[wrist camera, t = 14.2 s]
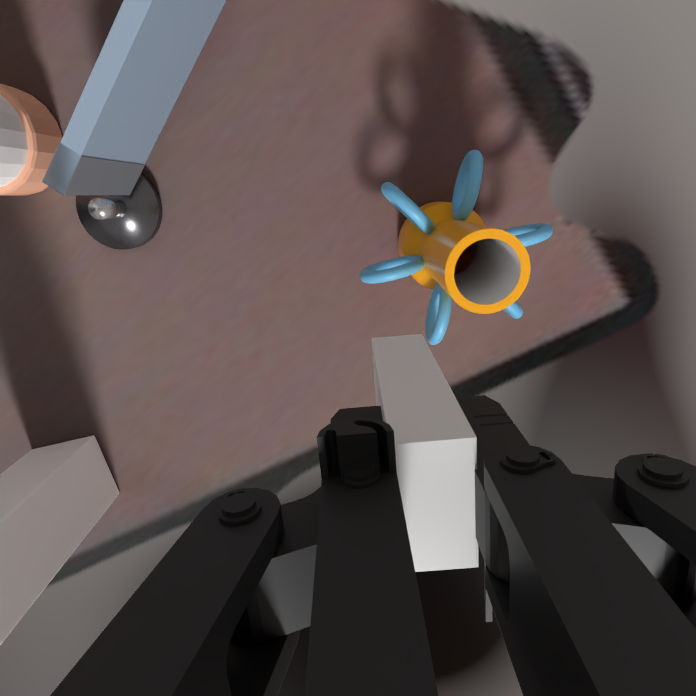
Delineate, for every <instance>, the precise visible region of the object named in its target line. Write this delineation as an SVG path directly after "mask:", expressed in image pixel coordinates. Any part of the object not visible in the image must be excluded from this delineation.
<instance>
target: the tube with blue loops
mask: <svg viewBox="0 0 696 696" xmlns="http://www.w3.org/2000/svg"><path fill="white" fill-rule="evenodd" d="M482 174H483V157H482V154H481V153H480V151H478V150H471V151H469V152H468V153H467V154H466V156H465V157H464V159H463V161H462V164H461V166H460V169H459V172H458V175H457V179H456V183H455V187H454V192H453V199H452V202H432V203H428V204H425V205H423V206H421V207H418V206H417V205H416V204H415V203H414V202H413V201H412V200H411V199H410V198H409V197H408V196H407V195H406V194H404V193H403V192H402V191H401V190H400V189H399V188H397V187H396V186H395V185H394V184H392V183H390V182H385V183H383V184H382V186H381V191H382V193H383V194H384V196H385V197H386V198H387V199H388V200H389V201H390V202H391V203H392V204H393V205H394V206H395V207H396V208H397V209H398V210H399V211H400V212H401V213H402V214H403V215H404V216H405V217H407V219H406V220H405V222H404V223H403V225H402V227H401V230H400V233H399V238H398V250H399V255H400V257H398V258H394V259H390V260H386V261H382V262H379V263H376V264H374V265H371V266H369V267H367V268H365V269H363V270H362V271H361V273H360V279H361V280H362V281H363V282H365V283H382V282H387V281H392V280H396V279H400V278H403V277H406V276H409V275H411V276H412V277H413V278H414V279H415V280H416V281H417V282H418V283H420V284H421V285H423V286H425V287H427V288H429V289H432V290H433V292H432V295H431V298H430V302H429V306H428V311H427V317H426V338H427V341H428V342H429V343H430V344H432V345H436V344H438V343H439V342H440V341H441V340H442V339H443V337H444V335H445V332H446V329H447V326H448V322H449V318H450V313H451V305H452V299H453V300H454V301H455V302H456V303H457V304H458V305H460V306H461V307H462V308H464V309H466V310H468V311H471V312H474V313H480V314H488V313H494V312H498V311H501V310H504V311H505V312H507V313H508V314H509V315H510V316H512V317H513V318H520V317H521V316H522V315H523V310H522V308H521V307H520V305H519V304H518V303H517V302H516V300H517V299H518V298H519V297H520V296H521V294H522V293H523V291H524V290H525V288H526V286H527V283H528V280H529V276H530V260H529V256H528V253H527V251H526V249H525V247H526V246H529V245H533V244H536V243H539V242H542V241H544V240H546V239H548V238H549V237H550V236H551V235H552V233H553V228H552V227H551V226H550V225H548V224H530V225H524V226H518V227H514V228H510V229H506V230H499V229H495V228H491V227H487V226H486V225H485V223H484V221H483V220H482V218H481V217H480V216H479V215H478V214H477V213H476V212H475V211H473V208H474V205H475V203H476V200H477V197H478V193H479V190H480V185H481V180H482Z"/></svg>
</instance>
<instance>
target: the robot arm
mask: <svg viewBox="0 0 696 696" xmlns="http://www.w3.org/2000/svg"><path fill="white" fill-rule="evenodd" d="M371 340H372V353H373V365H374V378H375V391H376V404H377V406H370V407H359V408H347V409H340V410H339V411H338V412H337V413H336V414H335V415H334V416H333V417H332V418H331V424H329V425H327V426H326V427H324V428H323V429H322V430H320V432H319V434H318V436H317V443H318V452H319V460H320V468H321V477H322V485H321V487H320V488H319V489H318V490H317V491H315V492H314V493H312V494H311V495H309V496H307V497H305V498H302V499H299V500H297V501H294V502H290V503H287V504H283V505H281V504H280V502H279V499H278V497H277V496H276V495H275V494H273V493H272V492H270V491H269V490H264V489H259V488H247V489H245V488H243V489H237V490H233V491H230V492H228V493H226V494H224V495H222V496H220V497H218V498H216V499H214V500H212V501H211V502H210V503H209V504H208V505H207V506H206V507H205V508H203V510H202V511H201V512H200V513H199V515H198V516H197V517H196V518H195V519H194V521H193V522H192V523H191V524H190V526H189V527H188V528H187V529H186V530H185V532H184V533H183V534H182V535H181V537H180V538H179V539H178V540H177V541H176V543H175V544H174V545H173V546H172V548H171V549H170V550H169V551H168V553H167V554H166V555H165V556H164V557H163V559H162V560H161V561H160V562H159V563H158V565H157V566H156V567H155V568H154V570H153V571H152V572H151V573H150V574H149V576H148V577H147V578H146V579H145V581H144V582H143V583H142V584H141V585H140V587H139V588H138V589H137V590H136V591H135V593H134V594H133V595H132V596H131V598H130V599H129V600H128V601H127V602H126V604H125V605H124V606H123V607H122V609H121V610H120V611H119V612H118V614H117V615H116V616H115V617H114V618H113V620H112V621H111V622H110V623H109V624H108V626H107V627H106V628H105V629H104V631H103V632H102V633H101V634H100V636H99V637H98V638H97V639H96V640H95V642H94V643H93V644H92V645H91V647H90V648H89V649H88V650H87V651H86V653H85V654H84V655H83V656H82V658H81V659H80V660H79V661H78V662H77V664H76V665H75V666H74V667H73V668H72V670H71V671H70V672H69V673H68V675H67V676H66V677H65V678H64V679H63V681H62V682H61V683H60V684H59V686H58V687H57V688H56V689H55V690H54V692H53V693H52V694H51V696H277V695H278V692H279V689H280V687H281V685H282V682H283V679H284V677H285V674H286V671H287V669H288V666H289V663H290V661H291V658H292V655H293V652H294V650H295V647H296V645H297V642H298V636H299V630H300V629H303V628H306V627H309V626H310V637H309V650H308V663H307V676H306V689H305V696H438V692H437V686H436V681H435V676H434V670H433V665H432V659H431V654H430V649H429V644H428V639H427V633H426V627H425V623H424V617H423V612H422V606H421V600H420V595H419V590H418V584H417V579H416V574H415V572H420V571H434V570H447V569H460V568H473V567H478V545H479V547H480V550H481V553H482V555H483V558H484V561H485V616H486V622H492V610H494V613H495V616H496V619H497V622H498V624H499V627H500V630H501V633H502V636H503V638H504V642H505V645H506V647H507V650H508V653H509V656H510V659H511V662H512V665H513V667H514V670H515V673H516V676H517V679H518V682H519V685H520V687H521V690H522V693H523V696H696V466H693V465H691V464H689V463H686V462H684V461H682V460H678V459H674V458H670V457H668V456H665V455H660V454H655V455H653V454H640V455H631V456H628V457H626V458H623V459H621V460H619V462H618V464H617V465H616V466H615V475H614V479H612V478H602V477H592V476H584V475H576V474H572V473H571V472H570V471H569V469H568V468H567V467H566V466H565V464H564V463H563V462H562V461H561V460H560V459H559V458H558V457H557V456H556V455H554V454H553V453H552V452H549V451H547V450H545V449H542V448H539V447H535V446H530V445H529V444H528V442H527V441H526V439H525V438H524V437H523V435H522V434H521V433H520V431H519V430H518V428H517V427H516V425H515V424H513V421H512V420H511V419H510V417H509V416H508V415H507V413H506V412H505V410H504V409H503V408H502V406H501V405H500V404H499V403H498V402H496V401H494V400H492V399H490V398H489V397H487V396H485V395H483V396H471V397H459V398H455V396H454V394H453V392H452V390H451V388H450V386H449V385H448V383H447V381H446V379H445V377H444V375H443V373H442V371H441V370H440V368H439V366H438V364H437V362H436V360H435V358H434V356H433V355H432V353H431V351H430V349H429V347H428V345H427V343H426V341H425V339H424V338H423V336H422V334H414V335H402V336H391V337H379V338H371Z"/></svg>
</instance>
